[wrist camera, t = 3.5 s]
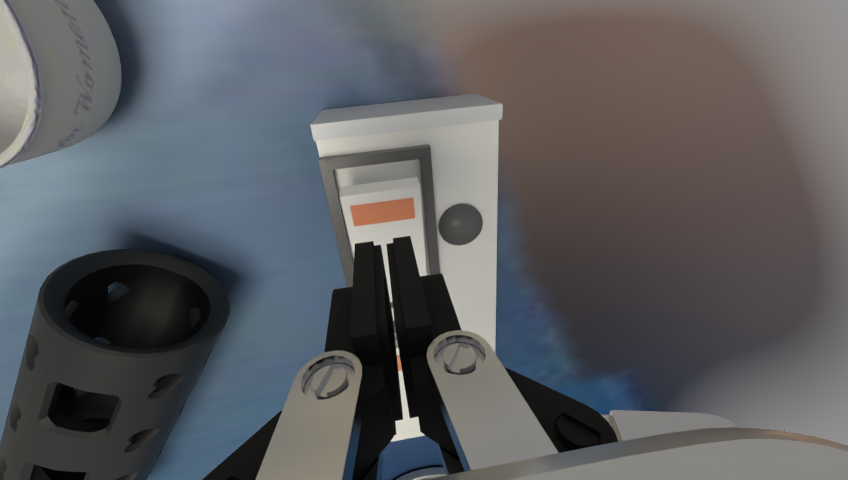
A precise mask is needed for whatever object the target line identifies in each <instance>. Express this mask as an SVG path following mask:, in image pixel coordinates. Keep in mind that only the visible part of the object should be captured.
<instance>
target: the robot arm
mask: <svg viewBox="0 0 848 480" xmlns="http://www.w3.org/2000/svg"><path fill="white" fill-rule="evenodd" d="M386 245H387V255H388V264H389V273H390V283H391V292H392V302H393V311H394V320H395V329H396V336H397V342H398V348H399V355H400V361H401V367H402V373H403V379H404V386H405V392H406V398H407V404H408V410H409V416H410V418H414V417H418V418H419V425H420V432H422V433H423V434H424V435H426V436H427V437H429V438H430V439H432V440H433V441H435V442H436V444H437V450H438V453H439V456H440V459H441V462H442V465H443V467H433V468H425V469H420V470H417V471H413V472H410V473H408V474H405V475H403V476H401V477H399V478H397V479H396V480H848V446H847V445H844V444H841V443H837V442H833V441H830V440H826V439H821V438H818V437H814V436H808V435H802V434H796V433H790V432H785V431H778V430H770V429H759V428H740V427H738V426H737V425H736V424H734V423H733V422H730V421H728V420H726V419H723V418H721V417H719V416H716V415H710V414H704V413H682V412H654V411H625V410H611V411H610V415H600V414H599V413H598V412H597V411H595V410H593V409H592V408H590V407H588V406H587V405H585V404H582V403H580V402H578V401H576V400H574V399H572V398H570V397H567V396H565V395H563V394H561V393H559V392H557V391H555V390H552V389H550V388H548V387H546V386H544V385H542V384H540V383H538V382H535V381H533V380H531V379H529V378H527V377H525V376H523V375H520V374H518V373H516V372H514V371H512V370H510V369H508V368H505V367H503V365H502V363H501V362H500V360H499V359H498V357H497V356H496V354H495V352H494V351H493V349H492V348H491V346H490V345H489V344H488V342H487V341H486V340H485V339H484V338H482V337H481V336H479V335H478V334H476V333H473V332H469V331H462V330H461V327H460V324H459V321H458V318H457V315H456V312H455V309H454V306H453V303H452V301H451V298H450V295H449V292H448V289H447V286H446V283H445V280H444V277H443V275H442V273H439V274H433V275H426V276H420V275H419V270H418V266H417V262H416V258H415V254H414V249H413V245H412V241H411V237H410V236H405V237H398V238H393V243H389V244H386ZM398 420H403V412H402V402H401V393H400V383H399V373H398V363H397V353H396V343H395V334H394V324H393V316H392V310H391V304H390V298H389V291H388V285H387V279H386V273H385V267H384V261H383V255H382V249H381V245H375V246H374V242H373V241H370V242H363V243H356V244H355V251H354V270H353V287H347V288H341V289H334V290H333V294H332V301H331V308H330V316H329V323H328V331H327V338H326V345H325V353H322V354H320V355H317V356H315V357H314V358H312V359H311V360H309V361H308V362H307V363H306V364H305V365H304V366H303V367H302V368H301V369H300V370H299V372H298V374H297V375H296V377H295V379H294V382H293V384H292V387H291V390H290V392H289V395H288V397H287V400H286V402H285V405H284V408H283V410H281V411H280V412H279V413H278V414H277V415H276V416H275V417H273V418H272V419H271V420H270V421H269V422H268V423H267V424H265V425H264V426H263V427H262V428H261V429H260V430H259V431H257V432H256V433H255V434H254V435H253V436H252V437H251V438H249V439H248V440H247V441H246V442H245V443H244V444H243V445H241V446H240V447H239V448H238V449H237V450H236V451H235V452H233V453H232V454H231V455H230V456H229V457H228V458H227V459H225V460H224V461H223V462H222V463H221V464H220V465H219V466H217V467H216V468H215V469H214V470H213V471H212V472H211V473H209V474H208V475H207V476H206V477H205V478H204V479H203V480H381V478H382V468H383V452H382V451H383V450H384V448H385V447H386V446H387V445H388V443H389V442H390V441H391V440H392V439H393V437H394V435H396V423H395V421H398Z"/></svg>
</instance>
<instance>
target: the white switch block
mask: <svg viewBox="0 0 848 480" xmlns="http://www.w3.org/2000/svg"><path fill="white" fill-rule="evenodd" d="M502 108H503V104H502V103H499V102H497V101H494V100H491V99H488V98H485V97H483V96H480V95H477V94H465V95H456V96H447V97H437V98H428V99H419V100H410V101H400V102H391V103H382V104H373V105H363V106H354V107H345V108H336V109H326V110H322V111H321V112H320V114H319V115H318V116H317V117H316V118H315V120H314V121H313V122H312V123H311V125H310V126H311V130H312V135H313V139H314V141H316V143H317V148H318V152H319V157H320V158H319V160H318V161H319V165H320V170H321V174H322V178H323V183H324V187H325V192H326V196H327V200H328V205H329V209H330V213H331V218H332V222H333V227H334V231H335V235H336V240H337V244H338V248H339V253H340V257H341V262H342V266H343V270H344V275H345V279H346V284H347V287H353V270H354V255H353V251H352V247H351V243H350V238H349V234H348V230H347V226H346V222H345V217H344V213H343V209H342V205H341V201H340V187H344V186H352V185H359V184H367V183H375V182H383V181H391V180H399V179H407V178H414V177H417V178H418V181H419V184H420V191H421V205H422V219H423V232H424V246H425V259H426V273H427V275H433V274H439V273H442V275H443V277H444V280H445V283H446V286H447V289H448V292H449V295H450V298H451V301H452V303H453V306H454V309H455V312H456V315H457V318H458V321H459V324H460V327H461V330H462V331H469V332H473V333H476V334H478V335H479V336H481V337H482V338H484V339H485V340H486V341H487V342H488V344H489V345H490V346H491V348H492V349H493V351H494V352H495V337H496V269H497V200H498V131H499V120H500V119H502V111H503V109H502ZM390 304H391V310H392V316H393V324H394V334H395V340H397V336H396V329H395V320H394V311H393V302H390Z"/></svg>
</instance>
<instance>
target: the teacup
mask: <svg viewBox="0 0 848 480" xmlns="http://www.w3.org/2000/svg"><path fill="white" fill-rule="evenodd" d="M120 90H121V63H120V57H119V53H118V49H117V45H116V42H115V40H114V37H113V35H112V33H111V30H110V28H109V25H108V23H107V21H106V20H105V18H104V16H103V14H102V12H101V11H100V9H99V8H98V6H97V5H96V3H95V2H94V0H0V168H2V167H4V166H6V165H9V164H13V163H17V162H21V161H25V160H28V159H32V158H35V157H38V156H42V155H45V154H48V153H51V152H55V151H58V150H60V149H63V148H66V147H69V146H71V145H74V144H76V143H78V142H80V141H82V140H84V139H86V138H87V137H89V136H90V135H92V134H93V133H95V132H96V131H97V130H98V129H99V128H101V127H102V126H103V125H104V124H105V122H106V121H107V120H108V119H109V117H110V116H111V114H112V112H113V111H114V109H115V107H116V104H117V101H118V98H119V95H120Z"/></svg>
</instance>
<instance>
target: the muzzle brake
mask: <svg viewBox="0 0 848 480" xmlns="http://www.w3.org/2000/svg"><path fill="white" fill-rule="evenodd" d="M114 282H121V283H123V284H124V285H123V286H122V287H120V288H118V289H116V290H115V291H112V292H109V293H108V286H109V285H110V284H112V283H114ZM229 310H230V304H229V300H228V296H227V294H226V292H225V290H224V288H223V287H222V286H221V284H220V283H219V282H218V281H217V280H216V279H215V278H214V277H213V276H212V275H210V274H209V273H208V272H207V271H205V270H204V269H202V268H200V267H199V266H197V265H195V264H194V262H193V261H190V260H187V259H185V258H182V257H179V256H171V255H169V254H165V253H160V252H155V251H148V250H138V249H119V250H109V251H101V252H96V253H92V254H87V255H84V256H81V257H78V258H75V259H72V260H70V261H68V262H67V263H65V264H63V265H61V266H60V267H58V268H57V269H56V270H54V271H53V272H52V273H51V274H50V275H49V276H48V277H47V278H46V280H45V281H44V283H43V284H42V286H41V287H40V291H39V295H38V299H37V303H36V307H35V311H34V315H33V319H32V323H31V326H30V330H29V334H28V338H27V342H26V346H25V350H24V354H23V358H22V362H21V366H20V369H19V373H18V377H17V381H16V385H15V389H14V393H13V397H12V401H11V405H10V408H9V412H8V416H7V420H6V424H5V428H4V432H3V436H2V440H1V444H0V480H146V479H147V477H148V475H149V474H150V472H151V470H152V468H153V466H154V464H155V462H156V460H157V459H158V457H159V455H160V453H161V450H162V448H163V446H164V444H165V442H166V439H167V438H168V436H169V435H170V433H171V431H172V429H173V427H174V425H175V423H176V421H177V419H178V417H179V415H180V413H181V411H182V409H183V406H184V404H185V402H186V400H187V398H188V396H189V394H190V393H191V391H192V389H193V387H194V385H195V383H196V381H197V379H198V377H199V375H200V373H201V371H202V369H203V367H204V365H205V363H206V361H207V359H208V357H209V354H210V352H211V350H212V348H213V346H214V345H215V343H216V342H217V340H218V338H219V336H220V334H221V332H222V330H223V328H224V326H225V324H226V322H227V319H228V316H229ZM96 337H103V339H101V340H100V341H98V340H96V339H94V338H96ZM74 388H76V389H74Z"/></svg>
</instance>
